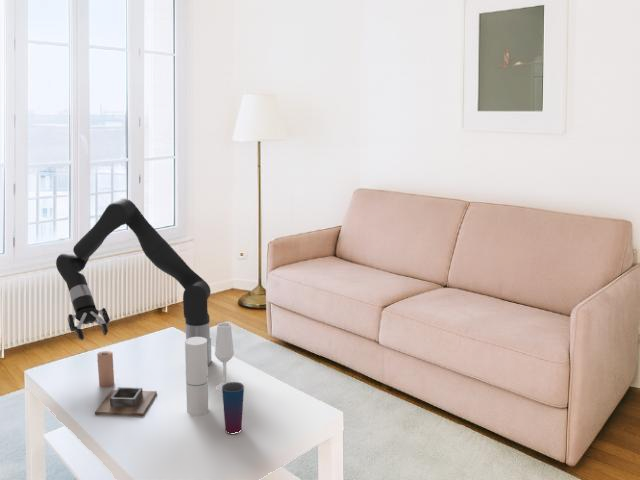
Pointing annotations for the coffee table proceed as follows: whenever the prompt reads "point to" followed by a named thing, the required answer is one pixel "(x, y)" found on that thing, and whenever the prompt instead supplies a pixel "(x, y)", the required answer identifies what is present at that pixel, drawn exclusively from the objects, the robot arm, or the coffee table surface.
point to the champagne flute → (224, 347)
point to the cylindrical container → (196, 375)
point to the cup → (233, 406)
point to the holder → (126, 402)
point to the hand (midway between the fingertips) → (94, 336)
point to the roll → (105, 369)
